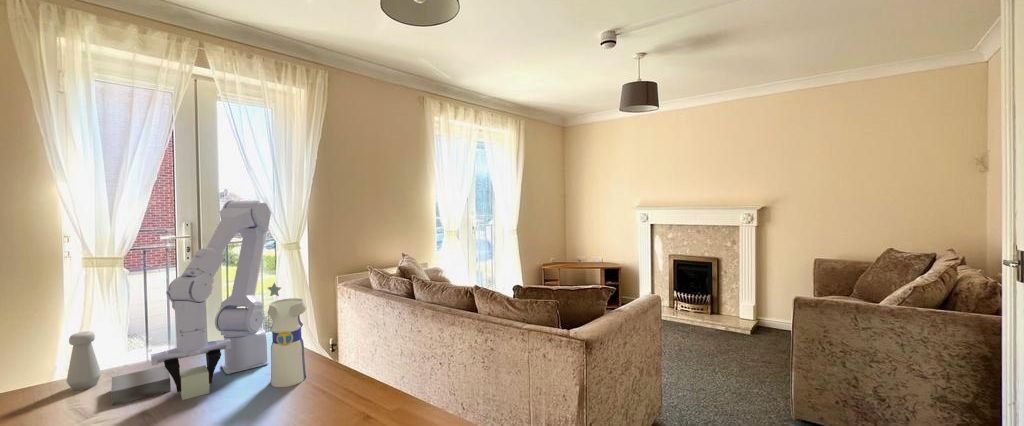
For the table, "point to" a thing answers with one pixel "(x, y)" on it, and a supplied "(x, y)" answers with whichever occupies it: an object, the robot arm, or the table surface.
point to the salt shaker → (83, 362)
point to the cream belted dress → (286, 340)
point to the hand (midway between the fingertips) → (194, 386)
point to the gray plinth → (140, 385)
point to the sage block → (194, 382)
